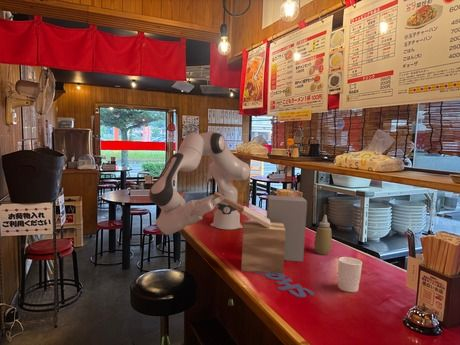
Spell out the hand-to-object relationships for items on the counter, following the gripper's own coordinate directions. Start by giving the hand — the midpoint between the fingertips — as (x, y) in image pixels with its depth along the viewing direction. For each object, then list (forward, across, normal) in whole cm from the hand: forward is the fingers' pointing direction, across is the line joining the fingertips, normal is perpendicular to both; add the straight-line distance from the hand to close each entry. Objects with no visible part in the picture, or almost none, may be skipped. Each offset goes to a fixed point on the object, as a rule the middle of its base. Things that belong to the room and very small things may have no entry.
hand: (224, 196), depth 134 cm
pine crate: (0, 0, +32) cm, 32 cm away
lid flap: (+3, 0, +8) cm, 9 cm away
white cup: (+26, -15, +48) cm, 56 cm away
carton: (+9, +16, +37) cm, 42 cm away
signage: (+5, -12, +36) cm, 38 cm away
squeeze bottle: (+25, +24, +47) cm, 58 cm away
